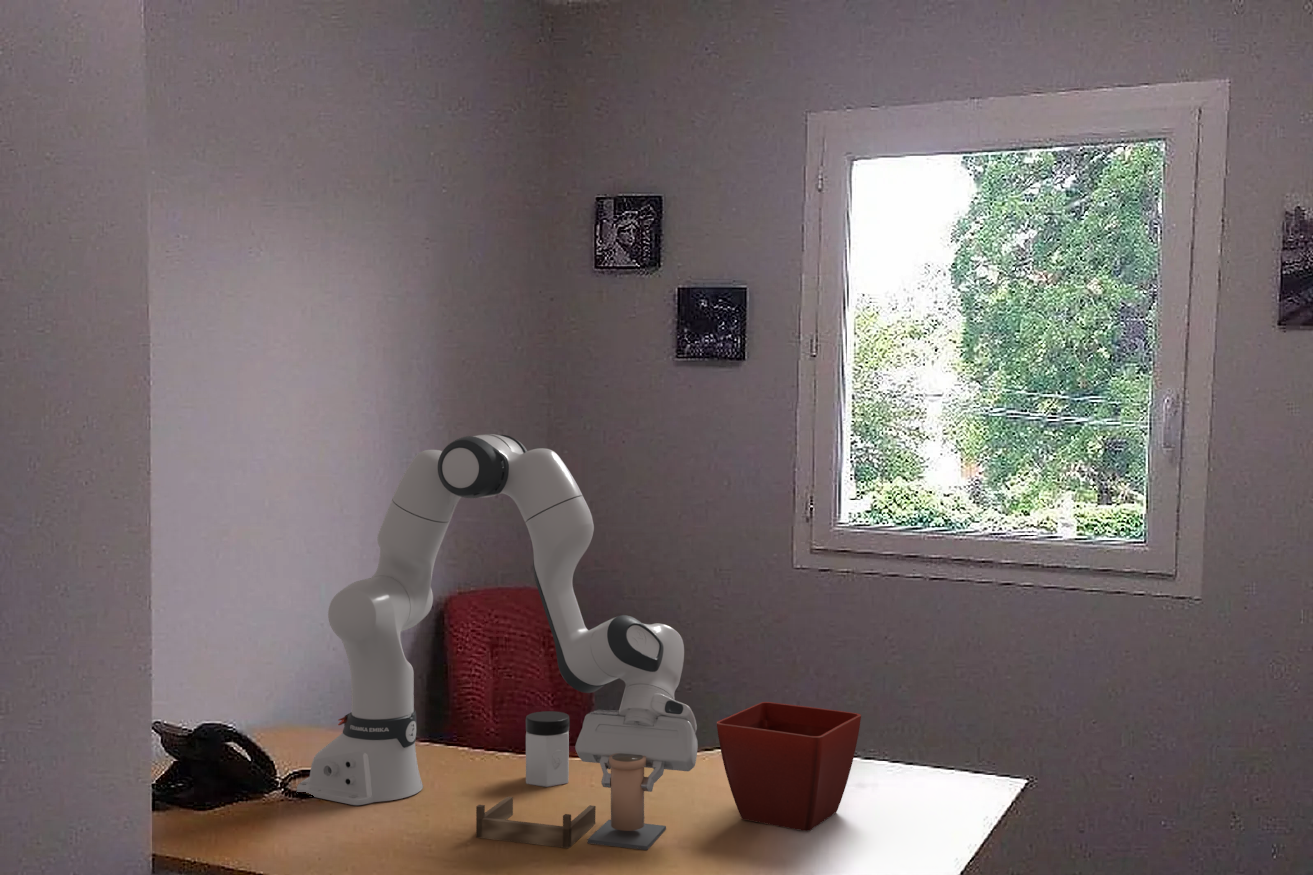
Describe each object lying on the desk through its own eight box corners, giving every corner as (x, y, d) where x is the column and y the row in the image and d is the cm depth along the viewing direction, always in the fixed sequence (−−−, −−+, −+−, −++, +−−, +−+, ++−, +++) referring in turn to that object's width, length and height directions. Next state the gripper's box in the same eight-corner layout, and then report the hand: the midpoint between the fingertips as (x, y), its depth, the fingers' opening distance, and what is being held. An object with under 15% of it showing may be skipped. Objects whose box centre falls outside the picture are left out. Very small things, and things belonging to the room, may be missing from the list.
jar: (536, 789, 218) (536, 724, 218) (516, 778, 224) (516, 715, 224) (579, 781, 223) (579, 717, 222) (558, 771, 229) (558, 708, 229)
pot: (603, 829, 192) (603, 760, 191) (616, 817, 197) (616, 750, 197) (639, 833, 190) (639, 763, 190) (650, 821, 195) (650, 753, 195)
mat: (587, 843, 190) (587, 839, 190) (608, 823, 200) (608, 819, 200) (647, 850, 187) (647, 846, 187) (665, 829, 197) (665, 825, 197)
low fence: (476, 837, 193) (476, 806, 193) (507, 814, 204) (507, 784, 204) (568, 848, 188) (568, 816, 188) (595, 823, 199) (595, 793, 199)
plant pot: (763, 792, 217) (763, 699, 217) (862, 810, 207) (863, 713, 207) (713, 822, 200) (713, 722, 200) (819, 843, 191) (819, 738, 190)
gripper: (582, 698, 203) (561, 772, 194) (699, 707, 197) (682, 783, 188) (592, 718, 207) (571, 791, 198) (706, 727, 201) (690, 803, 192)
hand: (626, 787), depth 193 cm, fingers closed on pot, 5 cm apart
